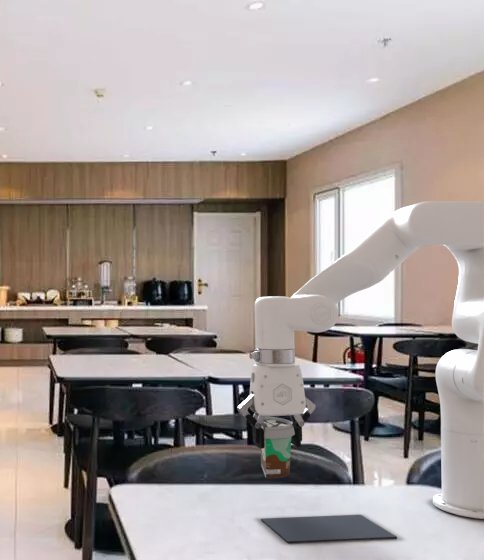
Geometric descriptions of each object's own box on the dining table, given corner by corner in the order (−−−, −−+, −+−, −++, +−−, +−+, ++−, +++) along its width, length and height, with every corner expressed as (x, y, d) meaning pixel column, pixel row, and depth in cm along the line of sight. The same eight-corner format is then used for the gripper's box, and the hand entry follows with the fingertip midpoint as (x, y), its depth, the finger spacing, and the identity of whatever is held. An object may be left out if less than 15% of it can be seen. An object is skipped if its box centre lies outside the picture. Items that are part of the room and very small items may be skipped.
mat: (360, 516, 119) (360, 514, 119) (397, 538, 108) (397, 536, 108) (260, 520, 117) (260, 518, 117) (287, 543, 106) (287, 541, 106)
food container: (300, 481, 118) (299, 428, 118) (266, 480, 119) (265, 427, 119) (291, 464, 130) (290, 416, 130) (260, 463, 131) (259, 415, 131)
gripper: (241, 360, 120) (243, 452, 120) (325, 357, 122) (328, 448, 122) (227, 357, 128) (229, 443, 127) (306, 354, 130) (309, 439, 129)
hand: (277, 445), depth 125 cm, fingers closed on food container, 7 cm apart
